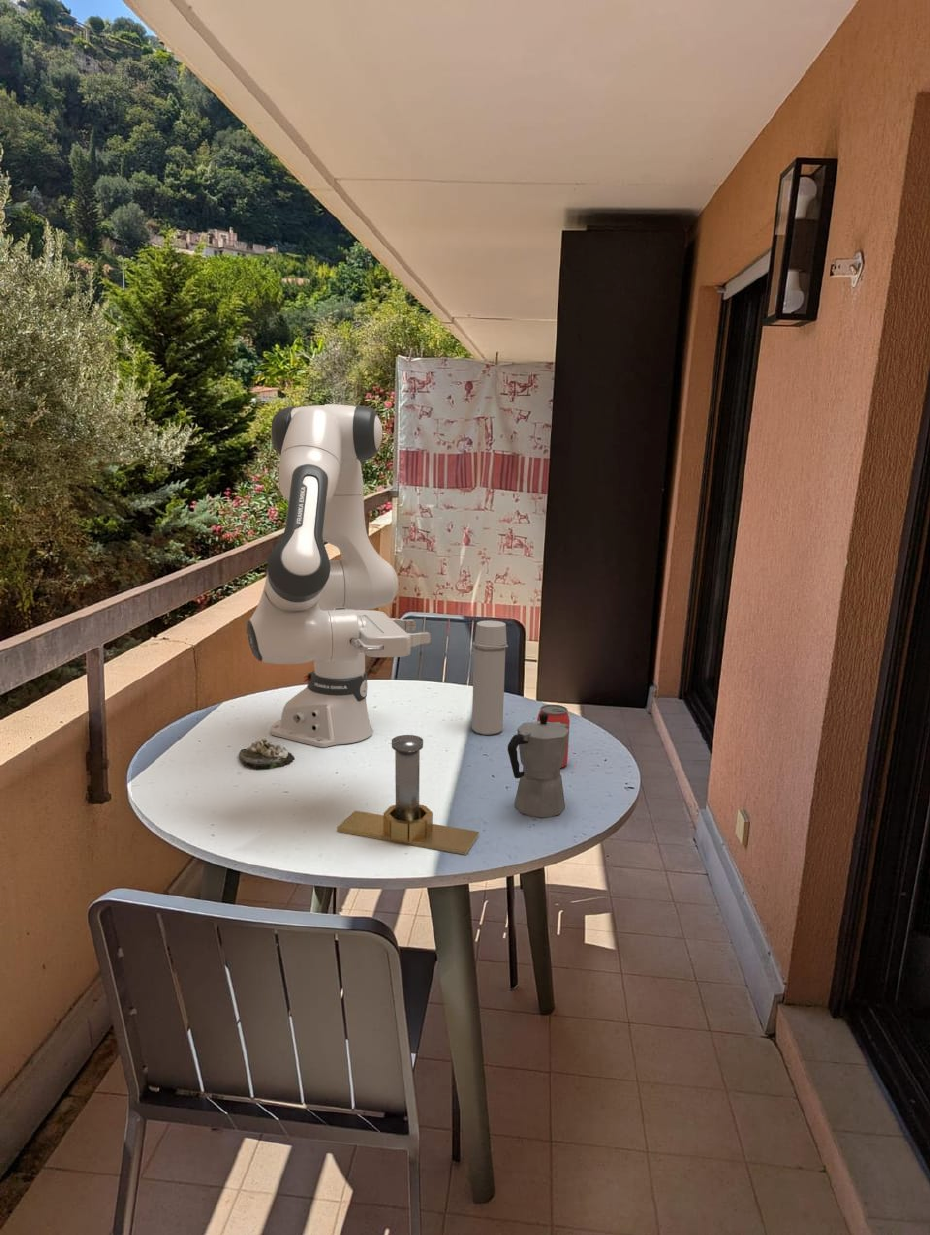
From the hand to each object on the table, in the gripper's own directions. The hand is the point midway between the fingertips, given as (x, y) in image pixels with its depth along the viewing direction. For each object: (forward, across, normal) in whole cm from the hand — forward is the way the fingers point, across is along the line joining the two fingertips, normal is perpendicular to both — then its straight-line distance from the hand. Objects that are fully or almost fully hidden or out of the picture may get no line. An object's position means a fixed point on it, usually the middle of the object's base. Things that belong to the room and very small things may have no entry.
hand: (422, 630), depth 154 cm
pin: (-6, -13, +31) cm, 34 cm away
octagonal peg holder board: (-6, -13, +32) cm, 35 cm away
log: (-25, +27, +33) cm, 49 cm away
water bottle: (+25, +32, +32) cm, 52 cm away
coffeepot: (+19, -10, +32) cm, 39 cm away
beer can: (+31, +9, +32) cm, 45 cm away
